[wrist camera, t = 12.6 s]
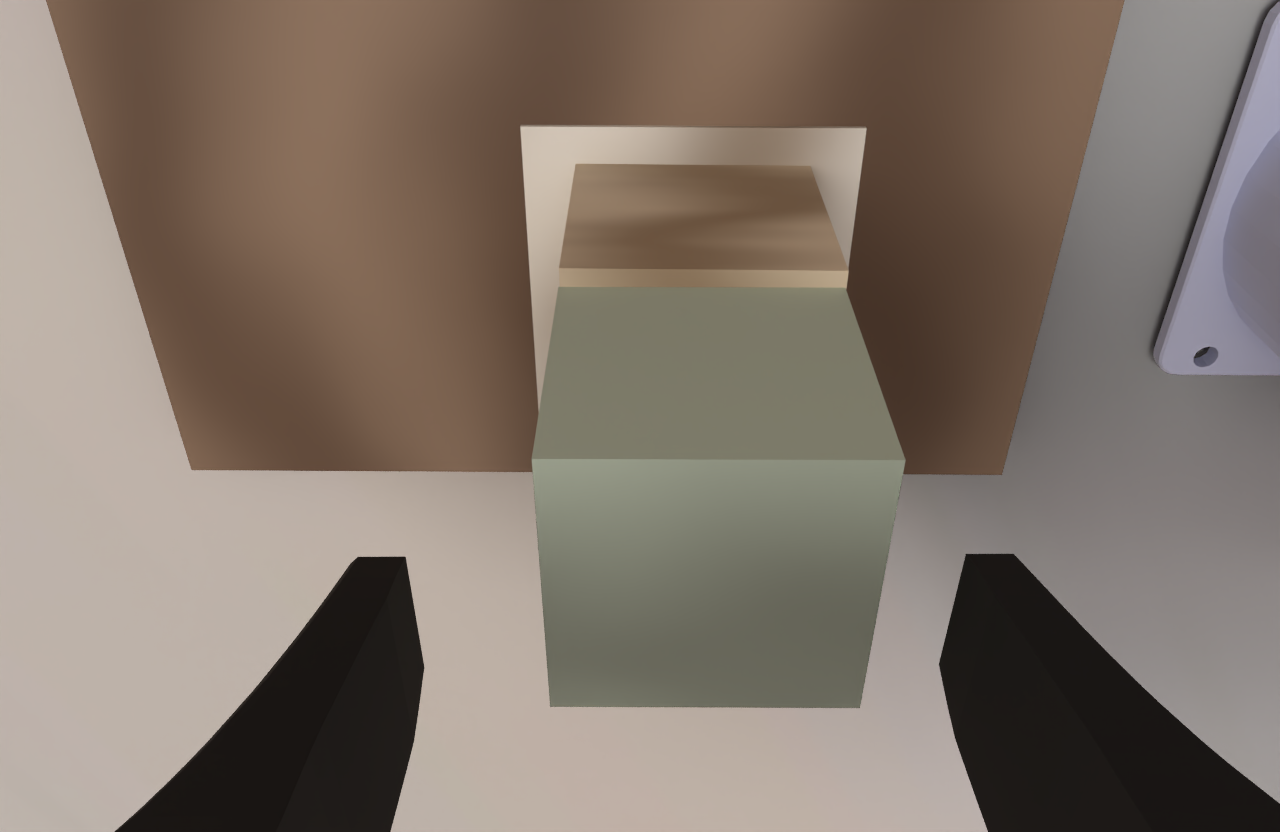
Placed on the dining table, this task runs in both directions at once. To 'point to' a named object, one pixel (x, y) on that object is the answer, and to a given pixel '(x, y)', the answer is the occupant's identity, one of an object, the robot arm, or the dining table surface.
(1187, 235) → the dining table surface
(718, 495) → the sage block
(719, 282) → the beech block
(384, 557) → the robot arm
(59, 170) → the dining table surface
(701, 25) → the board
